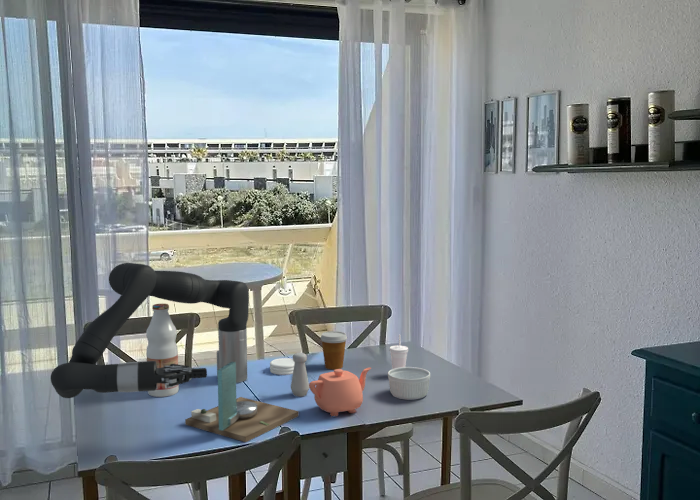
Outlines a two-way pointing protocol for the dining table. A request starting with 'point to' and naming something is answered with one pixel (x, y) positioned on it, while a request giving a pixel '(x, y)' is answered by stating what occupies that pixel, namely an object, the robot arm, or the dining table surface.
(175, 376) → the robot arm
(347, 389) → the teapot
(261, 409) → the wooden cutting board
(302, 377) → the salt shaker
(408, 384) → the ramekin
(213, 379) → the dining table surface
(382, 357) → the dining table surface
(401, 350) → the smoothie
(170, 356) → the fruit juice
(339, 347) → the disposable coffee cup
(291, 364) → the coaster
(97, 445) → the dining table surface
